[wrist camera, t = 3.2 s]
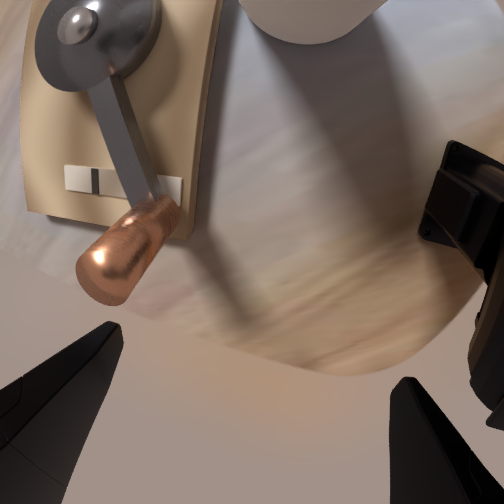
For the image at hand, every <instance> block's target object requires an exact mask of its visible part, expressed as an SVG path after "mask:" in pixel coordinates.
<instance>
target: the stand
mask: <svg viewBox="0 0 504 504" xmlns="http://www.w3.org/2000/svg"><path fill="white" fill-rule="evenodd" d="M50 1H51V0H33V3H32V7H31V12H30V17H29V22H28V27H27V34H26V40H25V47H24V55H23V65H22V77H21V94H20V139H21V157H22V169H23V179H24V188H25V196H26V203H27V209H28V211H30V212H36V213H41V214H46V215H51V216H57V217H62V218H67V219H72V220H78V221H83V222H88V223H93V224H99V225H104V226H109V227H111V226H112V225H113V224H114V223H116V222H117V221H118V220H119V219H120V218H121V217H122V216H123V215H124V214H125V213H127V212H128V211H129V210H130V209H131V206H130V204H129V202H128V199H127V197H126V195H125V192H124V190H123V187H122V185H121V182H120V180H119V177H118V175H117V172H116V170H115V167H114V165H113V162H112V160H111V157H110V154H109V152H108V149H107V146H106V144H105V141H104V138H103V135H102V132H101V130H100V127H99V124H98V121H97V118H96V115H95V112H94V109H93V106H92V103H91V100H90V97H89V94H88V90H86V91H78V92H66V91H61V90H58V89H56V88H54V87H52V86H51V85H50V84H48V83H47V82H46V81H45V79H44V78H43V77H42V75H41V74H40V72H39V69H38V67H37V64H36V59H35V49H34V46H35V37H36V31H37V28H38V24H39V22H40V19H41V17H42V15H43V13H44V11H45V9H46V7H47V5H48V4H49V2H50ZM223 1H224V0H160V2H161V7H162V23H161V28H160V32H159V35H158V38H157V41H156V43H155V45H154V47H153V49H152V51H151V52H150V54H149V55H148V57H147V58H146V60H145V61H144V62H143V63H142V64H141V66H140V67H139V68H138V69H137V70H136V71H135V72H134V73H132V74H131V75H130V76H128V77H127V78H126V79H124V80H123V81H124V84H125V88H126V91H127V94H128V97H129V100H130V103H131V106H132V109H133V112H134V115H135V117H136V120H137V123H138V126H139V129H140V132H141V135H142V137H143V140H144V143H145V146H146V148H147V151H148V154H149V157H150V159H151V162H152V165H153V167H154V170H155V173H156V175H157V178H158V180H159V183H160V186H161V188H162V191H163V193H164V194H166V195H168V196H170V197H171V198H172V199H173V200H174V201H175V202H176V204H177V206H178V208H179V211H180V221H179V224H178V226H177V227H176V228H175V230H174V231H173V233H172V234H171V235H170V237H169V238H172V239H178V240H183V241H187V240H188V239H189V237H190V235H191V234H192V232H193V230H194V219H195V207H196V195H197V184H198V173H199V163H200V154H201V145H202V136H203V128H204V120H205V112H206V104H207V97H208V90H209V83H210V76H211V69H212V63H213V57H214V51H215V45H216V39H217V33H218V28H219V22H220V17H221V12H222V6H223Z"/></svg>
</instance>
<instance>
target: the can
mask: <svg viewBox="0 0 504 504" xmlns="http://www.w3.org/2000/svg"><path fill="white" fill-rule="evenodd" d="M238 1H239V3H240V5H241V6H242V8H243V9H244V11H245V13H246V14H247V16H248V17H249V18H250V19H251V21H252V22H253V23H254V24H255V25H256V26H258V27H259V28H260V29H261V30H263V31H264V32H266V33H267V34H269V35H271V36H273V37H275V38H278V39H280V40H283V41H286V42H290V43H296V44H308V45H309V44H321V43H326V42H330V41H333V40H335V39H338V38H340V37H342V36H344V35H346V34H347V33H349V32H350V31H351V30H352V29H354V28H355V27H356V26H357V25H358V24H360V23H361V22H362V21H363V20H364V19H366V18H367V17H368V16H369V15H370V14H372V13H373V12H374V11H375V10H376V9H378V8H379V7H380V6H381V5H383V4H384V3H385V2H386V1H388V0H238Z"/></svg>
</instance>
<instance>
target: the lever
mask: <svg viewBox="0 0 504 504" xmlns="http://www.w3.org/2000/svg"><path fill="white" fill-rule="evenodd" d="M161 23H162V7H161V2H160V0H51V1H50V2H49V4H48V5H47V7H46V9H45V11H44V13H43V15H42V17H41V19H40V22H39V24H38V28H37V31H36V37H35V46H34V49H35V59H36V64H37V67H38V69H39V72H40V74H41V75H42V77H43V78H44V79H45V81H46V82H47V83H48V84H50V85H51V86H52V87H54V88H56V89H58V90H61V91H66V92H78V91H86V90H88V94H89V97H90V100H91V103H92V106H93V109H94V112H95V115H96V118H97V121H98V124H99V127H100V130H101V132H102V135H103V138H104V141H105V144H106V146H107V149H108V152H109V154H110V157H111V160H112V162H113V165H114V167H115V170H116V172H117V175H118V177H119V180H120V182H121V185H122V187H123V190H124V192H125V195H126V197H127V199H128V202H129V204H130V206H131V209H130V210H129V211H128V212H127V213H125V214H124V215H123V216H122V217H121V218H120V219H119V220H118V221H117V222H116V223H114V224H113V225H112V226H111V227H110V228H109V229H108V230H107V231H106V232H105V233H104V234H103V235H102V236H101V237H100V238H99V239H98V240H97V241H96V242H95V243H93V244H92V245H91V246H90V247H89V248H88V249H87V250H86V251H85V252H84V253H83V254H82V255H81V256H80V257H79V259H78V260H77V263H76V275H77V278H78V281H79V283H80V285H81V286H82V288H83V289H84V290H85V292H86V293H87V294H88V295H89V296H90V297H92V298H93V299H94V300H96V301H98V302H100V303H102V304H104V305H108V306H118V305H121V304H123V303H124V302H125V301H126V300H127V298H128V297H129V295H130V294H131V292H132V291H133V289H134V288H135V286H136V285H137V283H138V282H139V280H140V279H141V277H142V276H143V274H144V273H145V271H146V270H147V268H148V267H149V265H150V264H151V262H152V261H153V259H154V258H155V257H156V255H157V254H158V252H159V251H160V249H161V248H162V247H163V245H164V244H165V242H166V241H167V240H168V238H169V237H170V235H171V234H172V233H173V231H174V230H175V228H176V227H177V226H178V224H179V221H180V211H179V208H178V206H177V204H176V202H175V201H174V200H173V199H172V198H171V197H170V196H168V195H166V194H164V193H163V191H162V188H161V186H160V183H159V180H158V178H157V175H156V173H155V170H154V167H153V165H152V162H151V159H150V157H149V154H148V151H147V148H146V146H145V143H144V140H143V137H142V135H141V132H140V129H139V126H138V123H137V120H136V117H135V115H134V112H133V109H132V106H131V103H130V100H129V97H128V94H127V91H126V88H125V84H124V81H123V80H124V79H126V78H127V77H128V76H130V75H131V74H132V73H134V72H135V71H136V70H137V69H138V68H139V67H140V66H141V64H142V63H143V62H144V61H145V60H146V58H147V57H148V55H149V54H150V52H151V51H152V49H153V47H154V45H155V43H156V41H157V38H158V35H159V32H160V28H161Z"/></svg>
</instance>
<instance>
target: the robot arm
mask: <svg viewBox="0 0 504 504" xmlns="http://www.w3.org/2000/svg"><path fill="white" fill-rule="evenodd" d="M454 146H456V151H455V152H453V147H454ZM425 208H426V211H425V214H424V216H423V219H422V221H421V224H420V227H419V230H418V232H419V235H420V236H421V237H422V239H424V240H428V241H431V242H435V243H439V244H443V245H446V246H450V247H454V248H457V249H459V250H460V251H461V253H462V254H463V255H464V256H465V257H466V259H467V260H468V261H469V262H470V264H471V265H472V266H473V267H474V269H475V270H476V271H477V272H478V274H479V275H480V276H481V278H482V279H483V280H484V282H485V283H486V284H487V286H488V287H487V290H486V294H485V297H484V300H483V303H482V306H481V309H480V312H478V313H477V316H476V319H475V328H476V329H475V332H474V334H473V337H472V339H471V342H470V345H469V352H468V364H469V370H470V375H471V379H470V385H471V387H472V388H473V390H474V392H475V394H476V396H477V397H478V398H479V399H480V400H481V401H482V403H483V404H484V405H485V406H486V407H487V408H488V409H490V410H491V411H493V412H492V413H491V415H490V416H489V417H488V419H487V420H486V425H487V426H489V427H492V428H496V429H499V430H503V431H504V165H503V164H501V163H500V162H498V161H496V160H494V159H492V158H490V157H488V156H486V155H484V154H482V153H480V152H478V151H476V150H474V149H472V148H470V147H468V146H466V145H464V144H462V143H459V142H457V141H455V140H451V141H449V142H448V143H447V145H446V149H445V153H444V156H443V159H442V163H441V166H440V169H439V170H438V171H437V174H436V177H435V180H434V183H433V186H432V189H431V192H430V195H429V198H428V201H427V203H426V206H425ZM426 229H429V230H428V232H427V233H424V231H425V230H426ZM123 343H124V342H123V336H122V330H121V326H120V325H119V324H118V323H115V322H111V321H107V322H105V323H103V324H102V325H100V326H99V327H97V328H96V329H94V330H92V331H91V332H89V333H88V334H86V335H84V336H83V337H81V338H80V339H78V340H77V341H75V342H73V343H72V344H70V345H69V346H67V347H66V348H64V349H63V350H61V351H59V352H58V353H57V354H55V355H53V356H52V357H50V358H49V359H47V360H46V361H44V362H43V363H41V364H39V365H38V366H36V367H35V368H34V369H32V370H30V371H29V372H27V373H26V374H24V375H23V377H20V378H18V379H17V380H15V381H14V382H12V383H10V384H9V385H7V386H6V387H4V388H3V389H1V390H0V504H61V503H62V500H63V497H64V494H65V492H66V489H67V486H68V483H69V481H70V478H71V476H72V473H73V471H74V468H75V466H76V463H77V461H78V458H79V456H80V453H81V451H82V448H83V446H84V443H85V441H86V439H87V437H88V434H89V431H90V430H91V427H92V425H93V423H94V420H95V418H96V416H97V414H98V411H99V409H100V407H101V405H102V403H103V401H104V398H105V396H106V394H107V392H108V389H109V387H110V384H111V381H112V378H113V375H114V372H115V369H116V366H117V363H118V360H119V357H120V355H121V352H122V349H123ZM389 449H390V504H504V489H503V487H502V486H501V485H500V484H499V483H498V482H497V481H496V480H495V478H494V477H493V476H492V475H491V474H490V473H489V471H488V470H487V469H486V468H485V467H484V466H483V464H482V463H481V462H480V460H479V459H478V458H477V456H476V455H475V454H474V452H473V451H472V450H471V448H470V447H469V446H468V444H467V443H466V442H465V440H464V439H463V438H462V436H461V435H460V434H459V432H458V431H457V430H456V429H455V427H454V426H453V424H452V423H451V422H450V421H449V419H448V418H447V417H446V415H445V414H444V413H443V412H442V410H441V409H440V408H439V406H438V405H437V404H436V403H435V402H434V400H433V399H432V398H431V396H430V395H429V394H428V393H427V391H426V390H425V389H424V388H423V387H422V385H421V384H420V383H419V381H418V380H417V379H416V378H414V377H403V378H402V379H401V380H400V381H399V383H398V384H397V385H396V386H395V388H394V389H393V390H392V392H391V395H390V421H389Z"/></svg>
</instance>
